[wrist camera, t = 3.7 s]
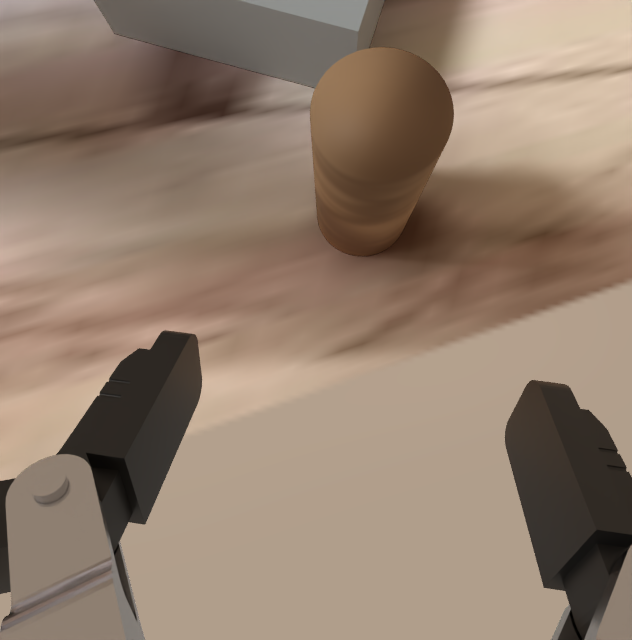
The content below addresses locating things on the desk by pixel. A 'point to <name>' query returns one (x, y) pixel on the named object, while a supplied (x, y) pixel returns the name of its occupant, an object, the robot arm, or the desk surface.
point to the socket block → (252, 31)
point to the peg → (375, 144)
